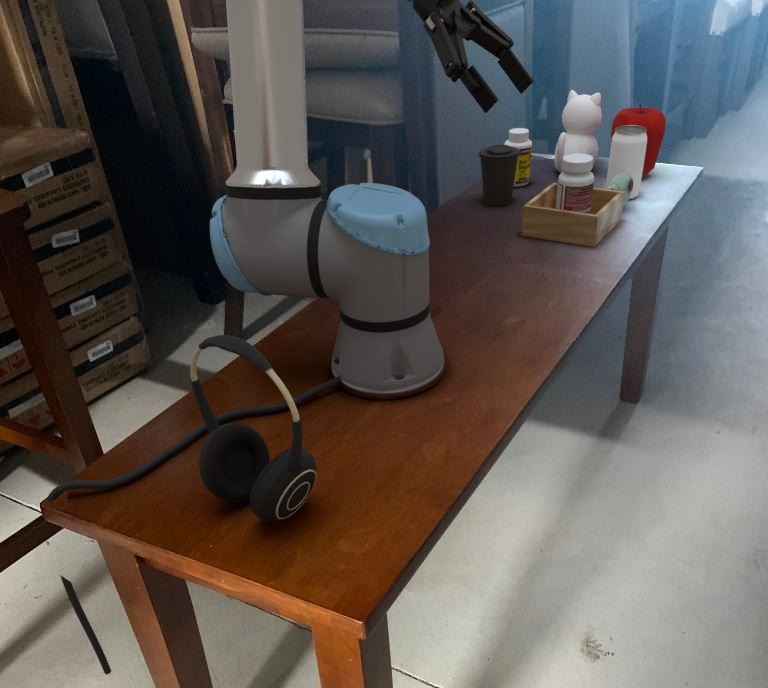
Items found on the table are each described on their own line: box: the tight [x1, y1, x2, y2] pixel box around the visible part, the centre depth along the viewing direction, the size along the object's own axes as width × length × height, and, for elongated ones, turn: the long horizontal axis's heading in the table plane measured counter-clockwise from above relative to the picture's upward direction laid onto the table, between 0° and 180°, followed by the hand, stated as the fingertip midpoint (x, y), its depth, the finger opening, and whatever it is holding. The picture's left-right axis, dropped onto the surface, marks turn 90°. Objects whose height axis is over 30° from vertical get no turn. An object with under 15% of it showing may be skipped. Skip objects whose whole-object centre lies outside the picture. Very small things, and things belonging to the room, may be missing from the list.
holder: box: [521, 182, 625, 248], centre depth 138 cm, size 14×14×5 cm
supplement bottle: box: [503, 127, 533, 188], centre depth 157 cm, size 6×6×10 cm
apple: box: [610, 103, 667, 178], centre depth 155 cm, size 11×10×14 cm
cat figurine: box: [553, 89, 603, 174], centre depth 159 cm, size 9×12×15 cm
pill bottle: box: [556, 154, 595, 214], centre depth 136 cm, size 6×6×11 cm
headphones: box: [189, 334, 317, 522], centre depth 78 cm, size 9×15×20 cm, turn 53°
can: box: [605, 125, 647, 201], centre depth 147 cm, size 6×6×12 cm
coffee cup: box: [477, 144, 521, 207], centre depth 150 cm, size 8×8×10 cm
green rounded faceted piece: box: [605, 173, 633, 206], centre depth 143 cm, size 8×4×7 cm, turn 142°
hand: (510, 97), depth 126 cm, fingers open, 13 cm apart
